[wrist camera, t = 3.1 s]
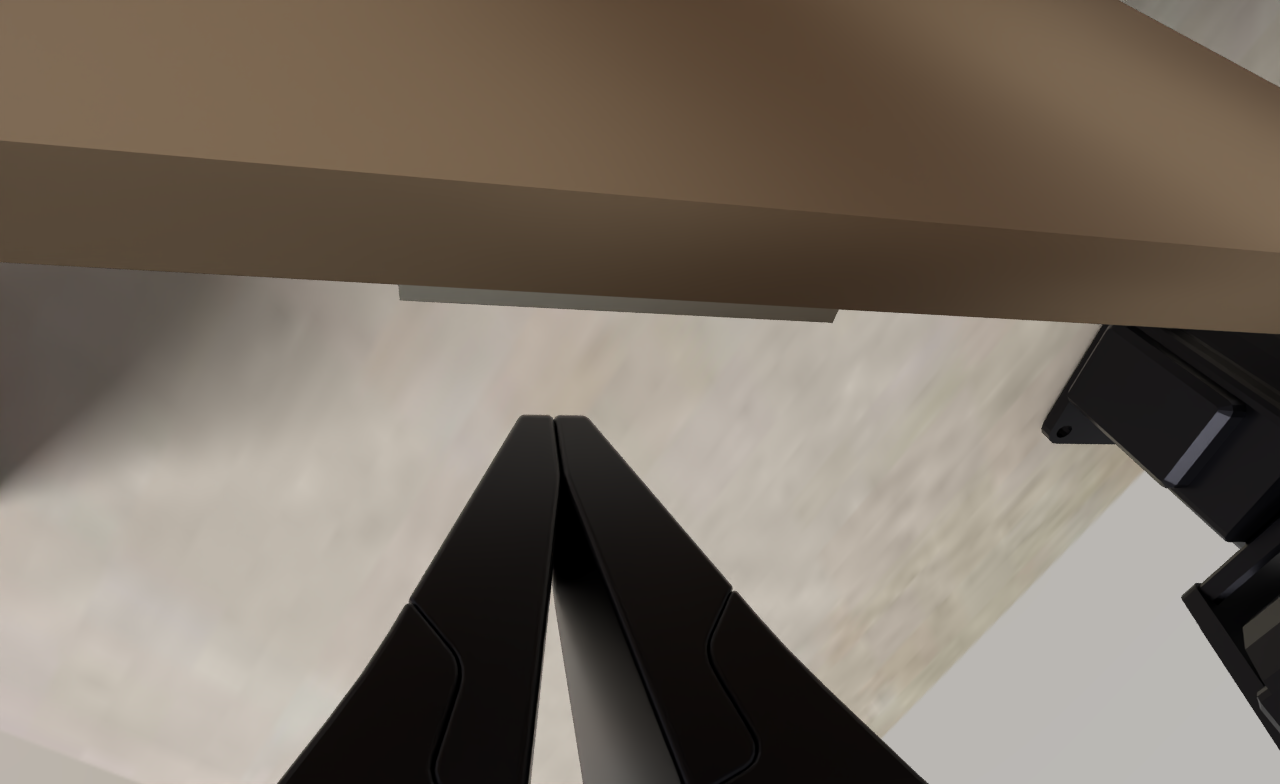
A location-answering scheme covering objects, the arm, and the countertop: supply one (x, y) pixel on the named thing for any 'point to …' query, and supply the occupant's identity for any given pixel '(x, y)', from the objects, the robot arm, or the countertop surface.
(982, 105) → the lid
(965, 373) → the countertop surface
